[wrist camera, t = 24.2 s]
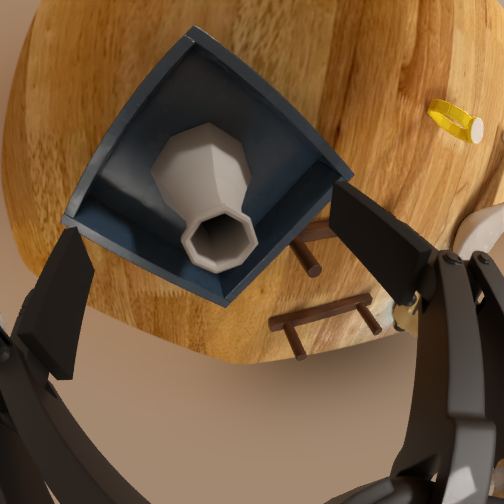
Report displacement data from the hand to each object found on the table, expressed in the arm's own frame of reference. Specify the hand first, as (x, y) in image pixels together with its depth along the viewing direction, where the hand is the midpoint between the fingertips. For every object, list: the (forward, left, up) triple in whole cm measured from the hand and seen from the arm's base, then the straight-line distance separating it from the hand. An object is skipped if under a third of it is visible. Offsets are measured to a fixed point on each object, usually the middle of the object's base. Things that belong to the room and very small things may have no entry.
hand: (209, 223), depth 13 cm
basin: (0, 0, -9) cm, 9 cm away
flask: (0, 0, -8) cm, 8 cm away
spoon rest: (+41, -7, -9) cm, 42 cm away
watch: (+24, +5, -9) cm, 27 cm away
